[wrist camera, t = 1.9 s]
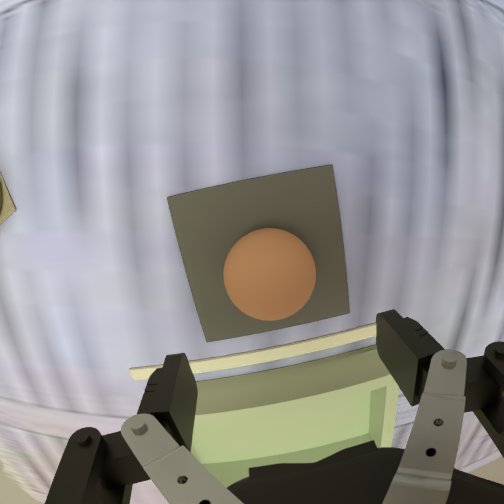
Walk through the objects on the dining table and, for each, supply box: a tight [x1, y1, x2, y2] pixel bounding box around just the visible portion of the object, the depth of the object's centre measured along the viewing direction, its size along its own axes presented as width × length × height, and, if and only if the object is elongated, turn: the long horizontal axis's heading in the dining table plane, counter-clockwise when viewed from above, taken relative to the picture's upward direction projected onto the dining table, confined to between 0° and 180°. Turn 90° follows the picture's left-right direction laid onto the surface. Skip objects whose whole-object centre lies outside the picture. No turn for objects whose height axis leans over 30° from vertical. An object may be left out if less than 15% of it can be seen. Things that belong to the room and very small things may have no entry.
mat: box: [167, 165, 350, 342], centre depth 24 cm, size 12×12×1 cm
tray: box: [191, 345, 399, 488], centre depth 27 cm, size 22×13×4 cm, turn 101°
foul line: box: [129, 323, 376, 380], centre depth 27 cm, size 24×1×1 cm, turn 101°
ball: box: [223, 228, 316, 321], centre depth 21 cm, size 6×6×6 cm
